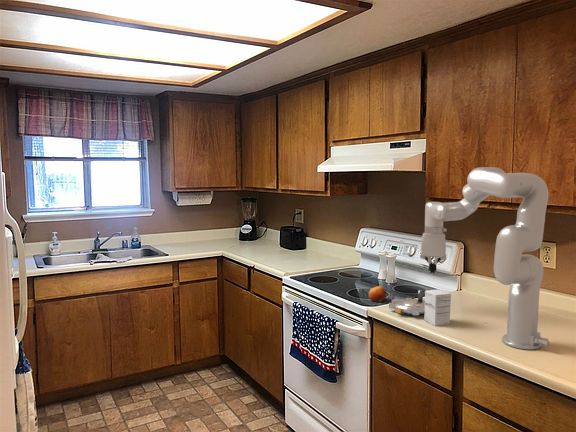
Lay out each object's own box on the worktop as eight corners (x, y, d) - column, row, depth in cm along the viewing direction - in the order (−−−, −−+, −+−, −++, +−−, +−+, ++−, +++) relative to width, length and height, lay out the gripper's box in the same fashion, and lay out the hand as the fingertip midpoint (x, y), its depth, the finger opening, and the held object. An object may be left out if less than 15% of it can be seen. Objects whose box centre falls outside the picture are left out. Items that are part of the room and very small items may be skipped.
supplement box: (423, 320, 189) (424, 290, 188) (439, 318, 191) (439, 288, 190) (434, 326, 182) (435, 295, 181) (450, 324, 184) (451, 293, 183)
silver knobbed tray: (444, 309, 199) (445, 293, 199) (417, 318, 187) (417, 301, 186) (407, 299, 214) (407, 284, 214) (379, 307, 202) (379, 291, 201)
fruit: (386, 301, 212) (378, 285, 213) (372, 308, 216) (363, 292, 217) (391, 297, 219) (383, 281, 220) (378, 303, 223) (369, 288, 224)
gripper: (452, 230, 200) (451, 272, 202) (416, 228, 206) (415, 269, 207) (451, 232, 193) (450, 275, 195) (414, 231, 199) (413, 273, 201)
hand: (432, 272), depth 201 cm, fingers closed
